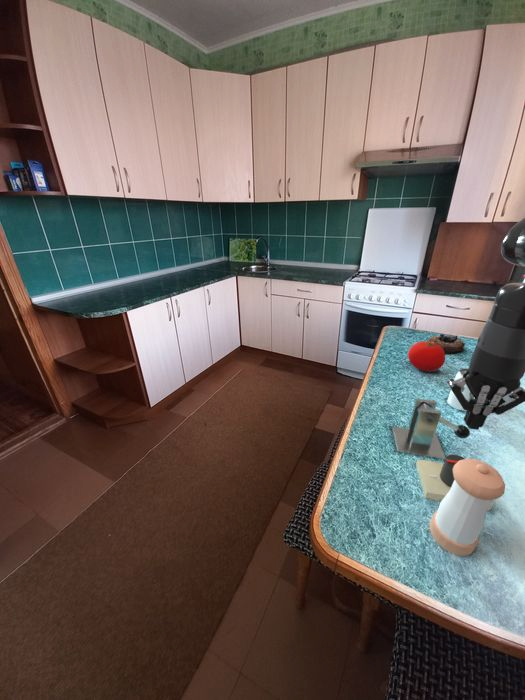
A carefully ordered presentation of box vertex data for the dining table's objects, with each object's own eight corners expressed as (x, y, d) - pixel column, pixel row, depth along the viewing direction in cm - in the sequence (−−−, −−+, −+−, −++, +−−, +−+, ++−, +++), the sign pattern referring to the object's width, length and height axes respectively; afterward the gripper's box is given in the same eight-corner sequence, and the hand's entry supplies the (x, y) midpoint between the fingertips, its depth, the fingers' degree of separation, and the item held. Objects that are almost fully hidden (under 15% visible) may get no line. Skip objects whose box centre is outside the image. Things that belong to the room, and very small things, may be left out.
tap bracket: (434, 436, 78) (447, 397, 72) (444, 462, 71) (460, 421, 65) (391, 430, 81) (400, 392, 75) (396, 454, 73) (407, 414, 67)
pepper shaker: (482, 557, 52) (525, 484, 43) (443, 561, 51) (478, 488, 43) (455, 517, 58) (487, 447, 49) (420, 521, 58) (446, 450, 49)
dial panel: (471, 477, 66) (475, 467, 65) (488, 514, 59) (493, 504, 57) (414, 467, 69) (417, 458, 68) (423, 501, 61) (427, 491, 60)
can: (445, 398, 93) (456, 366, 88) (469, 403, 91) (482, 370, 85) (447, 409, 88) (458, 376, 83) (472, 415, 85) (486, 381, 80)
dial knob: (460, 472, 64) (468, 455, 62) (469, 491, 60) (477, 473, 58) (436, 468, 65) (443, 451, 63) (443, 486, 61) (450, 469, 59)
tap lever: (460, 434, 73) (470, 426, 71) (464, 443, 70) (475, 435, 69) (415, 409, 73) (424, 400, 71) (418, 417, 70) (427, 408, 68)
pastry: (467, 352, 121) (471, 339, 118) (442, 355, 119) (446, 342, 116) (447, 341, 131) (450, 329, 128) (423, 344, 128) (427, 332, 126)
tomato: (440, 379, 103) (448, 353, 98) (403, 370, 109) (409, 345, 104) (442, 365, 112) (449, 340, 107) (407, 357, 117) (413, 334, 113)
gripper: (468, 352, 47) (439, 433, 55) (566, 362, 44) (521, 446, 52) (453, 334, 53) (429, 409, 61) (537, 341, 50) (501, 419, 58)
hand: (471, 426), depth 57 cm, fingers closed
